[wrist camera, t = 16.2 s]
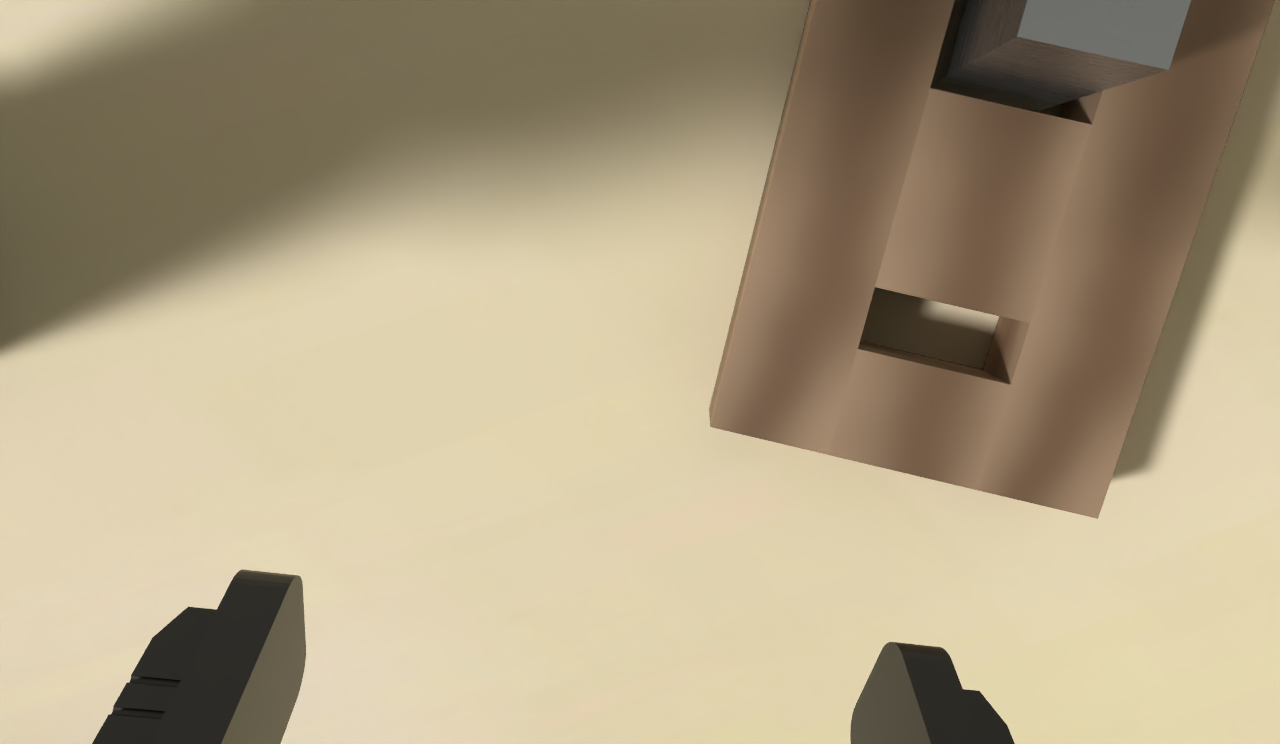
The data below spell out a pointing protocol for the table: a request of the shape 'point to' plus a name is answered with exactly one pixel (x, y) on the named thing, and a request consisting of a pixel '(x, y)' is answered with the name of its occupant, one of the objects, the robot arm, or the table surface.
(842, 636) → the table surface
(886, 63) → the plate
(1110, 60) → the square bit
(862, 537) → the table surface
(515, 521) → the table surface
